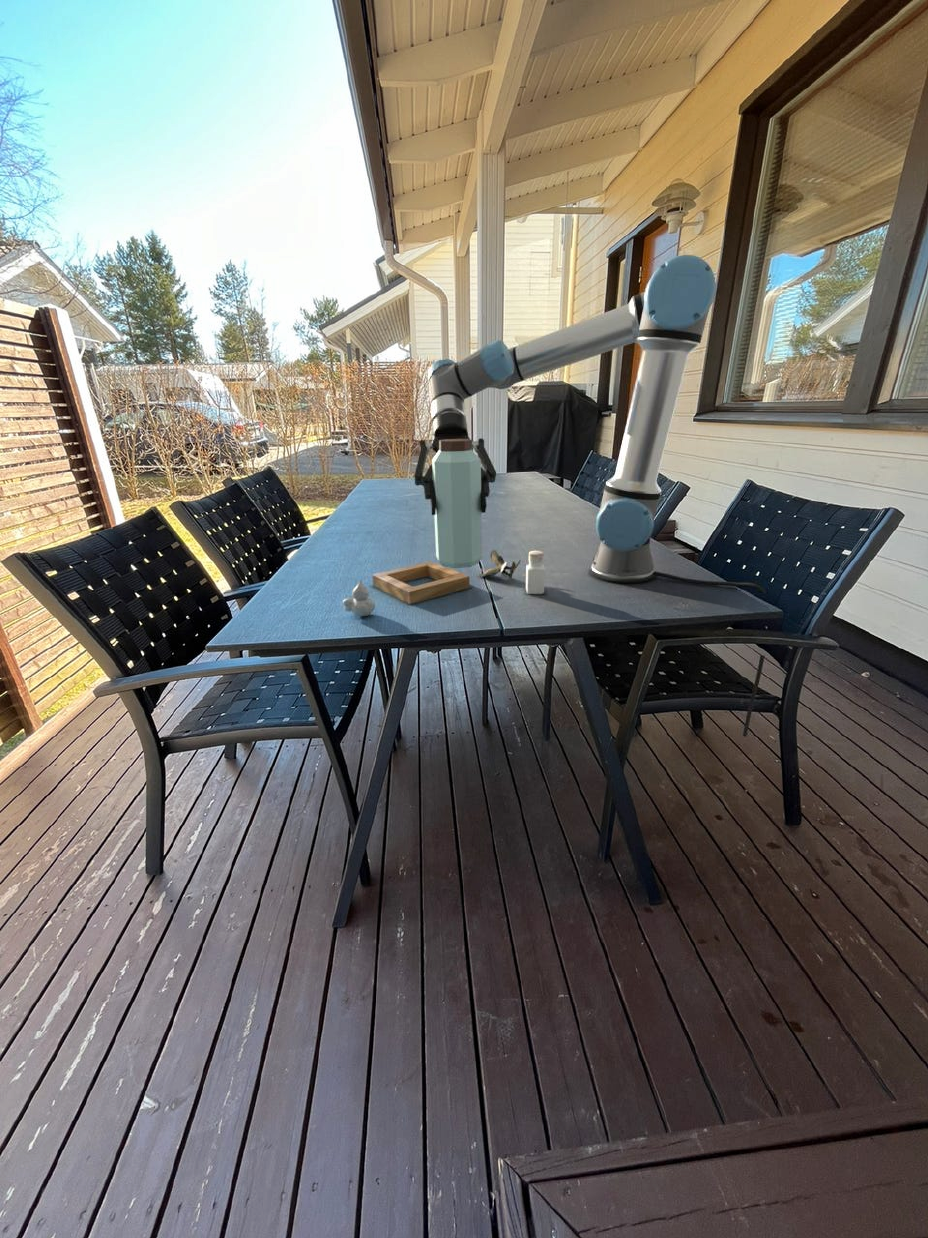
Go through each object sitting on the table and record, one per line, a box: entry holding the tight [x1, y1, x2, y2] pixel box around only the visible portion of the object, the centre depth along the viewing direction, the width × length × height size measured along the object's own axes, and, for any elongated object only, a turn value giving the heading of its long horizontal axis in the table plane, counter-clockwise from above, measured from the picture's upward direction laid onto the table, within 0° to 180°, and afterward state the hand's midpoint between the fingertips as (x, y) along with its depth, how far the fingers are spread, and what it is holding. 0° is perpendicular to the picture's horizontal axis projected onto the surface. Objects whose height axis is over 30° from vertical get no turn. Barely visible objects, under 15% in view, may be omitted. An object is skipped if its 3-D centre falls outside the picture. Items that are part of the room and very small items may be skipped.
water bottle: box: [431, 438, 483, 569], centre depth 108 cm, size 10×10×25 cm
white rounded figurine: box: [342, 580, 376, 617], centre depth 110 cm, size 5×7×8 cm
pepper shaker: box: [525, 550, 546, 595], centre depth 121 cm, size 4×4×10 cm
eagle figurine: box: [480, 549, 521, 581], centre depth 132 cm, size 8×7×9 cm
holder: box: [372, 561, 471, 605], centre depth 127 cm, size 17×17×3 cm
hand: (459, 509), depth 105 cm, fingers closed on water bottle, 9 cm apart
